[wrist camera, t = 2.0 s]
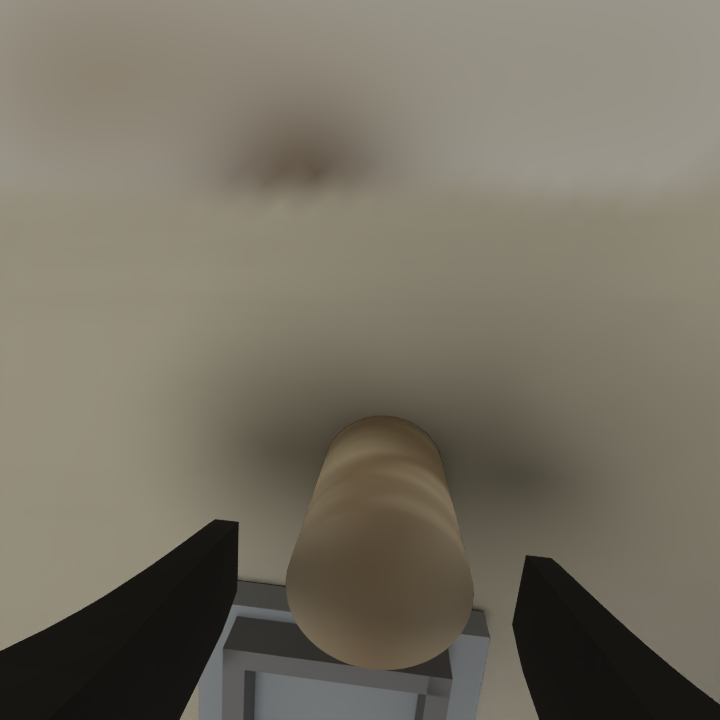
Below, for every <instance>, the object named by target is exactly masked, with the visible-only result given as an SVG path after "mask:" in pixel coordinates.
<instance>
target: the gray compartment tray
mask: <svg viewBox="0 0 720 720" xmlns="http://www.w3.org/2000/svg"><path fill="white" fill-rule="evenodd" d="M489 641H490V635H489V632H488V628H487V624H486V620H485V616H484V613H483V612H481V611H474V610H471V614H470V617H469V619H468V622H467V624H466V626H465V628H464V629H463V631H462V633H461V634H460V636H459V637H458V638H457V639H456V640H455V642H454V643H453V644H452V645H450V646H449V647H448V648H447V649H446V650H445V651H443V652H442V653H440V654H439V655H438V656H436V657H434V658H432V659H430V660H428V661H426V662H424V663H421V664H418V665H416V666H412V667H408V668H403V669H396V670H374V669H367V668H361V667H357V666H354V665H350V664H347V663H345V662H342V661H340V660H338V659H336V658H334V657H332V656H330V655H328V654H327V653H325V652H324V651H322V650H321V649H320V648H318V647H317V646H316V645H315V644H314V643H312V642H311V641H310V640H309V639H308V638H307V636H306V635H305V634H304V633H303V632H302V631H301V629H300V628H299V626H298V625H297V623H296V621H295V619H294V617H293V615H292V613H291V611H290V608H289V605H288V601H287V595H286V587H283V586H276V585H268V584H260V583H252V582H244V581H237V593H236V596H235V598H234V601H233V604H232V607H231V610H230V613H229V615H228V618H227V621H226V624H225V626H224V629H223V632H222V634H221V636H220V638H219V640H218V642H217V644H216V646H215V648H214V650H213V653H212V655H211V657H210V659H209V661H208V663H207V665H206V667H205V669H204V671H203V673H202V675H201V677H200V679H199V720H475V717H476V712H477V706H478V701H479V696H480V690H481V685H482V679H483V674H484V668H485V663H486V658H487V652H488V647H489Z"/></svg>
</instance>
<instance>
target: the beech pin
mask: <svg viewBox="0 0 720 720" xmlns="http://www.w3.org/2000/svg"><path fill="white" fill-rule="evenodd" d="M286 595H287V601H288V605H289V608H290V611H291V613H292V615H293V617H294V619H295V621H296V623H297V625H298V626H299V628H300V629H301V631H302V632H303V633H304V634H305V635H306V636H307V638H308V639H309V640H310V641H311V642H312V643H314V644H315V645H316V646H317V647H318V648H320V649H321V650H322V651H324V652H325V653H327V654H328V655H330V656H332V657H334V658H336V659H338V660H340V661H342V662H345V663H347V664H350V665H354V666H357V667H361V668H367V669H374V670H396V669H403V668H408V667H412V666H416V665H418V664H421V663H424V662H426V661H428V660H430V659H432V658H434V657H436V656H438V655H439V654H440V653H442V652H443V651H445V650H446V649H447V648H448V647H449V646H450V645H452V644H453V643H454V642H455V640H456V639H457V638H458V637H459V636H460V634H461V633H462V631H463V629H464V628H465V626H466V624H467V622H468V619H469V617H470V614H471V610H472V606H473V597H474V592H473V582H472V577H471V573H470V569H469V565H468V561H467V557H466V553H465V549H464V546H463V542H462V538H461V534H460V530H459V526H458V522H457V518H456V515H455V511H454V507H453V503H452V499H451V495H450V491H449V487H448V484H447V480H446V476H445V472H444V468H443V464H442V460H441V457H440V454H439V451H438V449H437V447H436V445H435V444H434V442H433V441H432V440H431V438H430V437H429V436H428V435H427V434H426V433H425V432H424V431H423V430H422V429H420V428H419V427H418V426H416V425H414V424H413V423H411V422H408V421H406V420H404V419H400V418H397V417H391V416H373V417H368V418H364V419H361V420H358V421H356V422H354V423H352V424H350V425H349V426H347V427H346V428H345V429H343V430H342V431H341V432H340V433H339V434H338V435H337V436H336V438H335V439H334V440H333V442H332V443H331V445H330V447H329V449H328V452H327V455H326V457H325V460H324V463H323V466H322V469H321V472H320V475H319V478H318V481H317V484H316V487H315V490H314V493H313V495H312V498H311V501H310V504H309V507H308V510H307V513H306V516H305V519H304V522H303V525H302V528H301V531H300V534H299V536H298V539H297V542H296V545H295V548H294V551H293V554H292V557H291V560H290V563H289V566H288V570H287V576H286Z"/></svg>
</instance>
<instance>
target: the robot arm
mask: <svg viewBox="0 0 720 720" xmlns="http://www.w3.org/2000/svg"><path fill="white" fill-rule="evenodd" d="M238 528H239V522H235V521H226V520H217V519H215V520H214V521H212V522H211V523H209V524H208V525H206V526H205V527H204V528H202V529H201V530H200V531H198V532H197V533H195V534H194V535H193V536H191V537H190V538H189V539H187V540H186V541H185V542H183V543H182V544H181V545H179V546H178V547H176V548H175V549H174V550H172V551H171V552H169V553H168V554H167V555H165V556H164V557H162V558H161V559H160V560H158V561H157V562H155V563H154V564H153V565H151V566H150V567H148V568H147V569H145V570H144V571H142V572H141V573H139V574H138V575H136V576H135V577H133V578H131V579H130V580H128V581H127V582H125V583H124V584H122V585H121V586H119V587H118V588H116V589H115V590H113V591H112V592H110V593H108V594H107V595H105V596H104V597H102V598H100V599H99V600H97V601H95V602H94V603H92V604H90V605H88V606H87V607H85V608H83V609H82V610H80V611H78V612H76V613H74V614H72V615H71V616H69V617H67V618H65V619H63V620H62V621H60V622H58V623H56V624H54V625H52V626H50V627H49V628H47V629H45V630H43V631H41V632H39V633H37V634H35V635H32V636H30V637H28V638H26V639H24V640H22V641H20V642H18V643H16V644H14V645H12V646H10V647H8V648H6V649H4V650H1V651H0V720H180V718H181V715H182V713H183V711H184V709H185V707H186V705H187V703H188V701H189V699H190V697H191V695H192V693H193V691H194V689H195V687H196V685H197V683H198V681H199V679H200V677H201V675H202V673H203V671H204V669H205V667H206V665H207V663H208V661H209V659H210V657H211V655H212V653H213V650H214V648H215V646H216V644H217V642H218V640H219V638H220V636H221V634H222V632H223V629H224V626H225V624H226V621H227V618H228V615H229V613H230V610H231V607H232V604H233V601H234V598H235V596H236V593H237V578H238ZM512 626H513V630H514V635H515V640H516V644H517V649H518V653H519V657H520V662H521V666H522V670H523V673H524V676H525V679H526V682H527V685H528V688H529V691H530V694H531V697H532V700H533V703H534V706H535V709H536V712H537V714H538V717H539V720H720V704H718V703H717V702H716V701H714V700H713V699H712V698H710V697H709V696H708V695H706V694H705V693H704V692H703V691H701V690H700V689H699V688H697V687H696V686H695V685H693V684H692V683H691V682H690V681H688V680H687V679H686V678H685V677H683V676H682V675H681V674H680V673H679V672H677V671H676V670H675V669H674V668H673V667H671V666H670V665H669V664H668V663H667V662H665V661H664V660H663V659H662V658H661V657H660V656H658V655H657V654H656V653H655V652H654V651H652V650H651V649H650V648H649V647H648V646H647V645H645V644H644V643H643V642H642V641H641V640H640V639H639V638H637V637H636V636H635V635H634V634H633V633H632V632H631V631H630V630H628V629H627V628H626V627H625V626H624V625H623V624H622V623H621V622H620V621H619V620H617V619H616V618H615V617H614V616H613V615H612V614H611V613H610V612H609V611H608V610H607V609H606V608H604V607H603V606H602V605H601V604H600V603H599V602H598V601H597V600H596V599H595V598H594V597H593V596H592V595H591V594H590V593H589V592H587V591H586V590H585V589H584V588H583V587H582V586H581V585H580V584H579V583H578V582H577V581H576V580H575V579H574V578H573V577H572V576H571V575H569V574H568V573H567V572H566V571H565V570H564V569H563V568H562V567H561V566H560V565H559V564H557V563H556V562H555V561H554V560H553V559H552V558H545V557H537V556H528V555H526V558H525V563H524V568H523V573H522V578H521V583H520V588H519V593H518V598H517V603H516V608H515V613H514V618H513V623H512Z"/></svg>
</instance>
